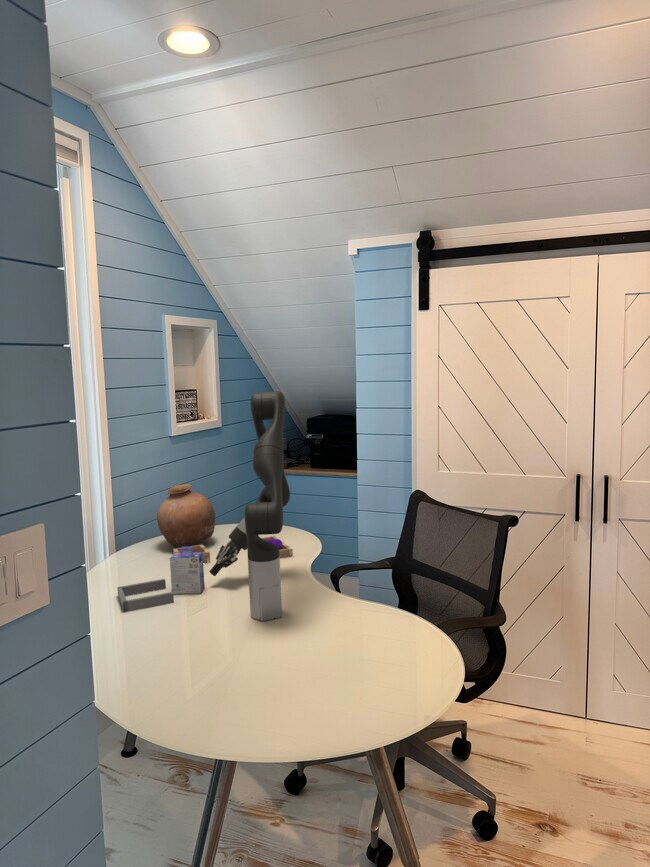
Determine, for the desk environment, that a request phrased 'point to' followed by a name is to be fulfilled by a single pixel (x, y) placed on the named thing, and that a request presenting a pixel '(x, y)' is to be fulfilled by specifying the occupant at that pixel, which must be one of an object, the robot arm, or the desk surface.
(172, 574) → the ink cartridge box
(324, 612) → the desk surface
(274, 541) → the crystal
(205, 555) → the wooden tray
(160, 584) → the bay
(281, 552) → the crystal cradle
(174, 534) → the pottery
